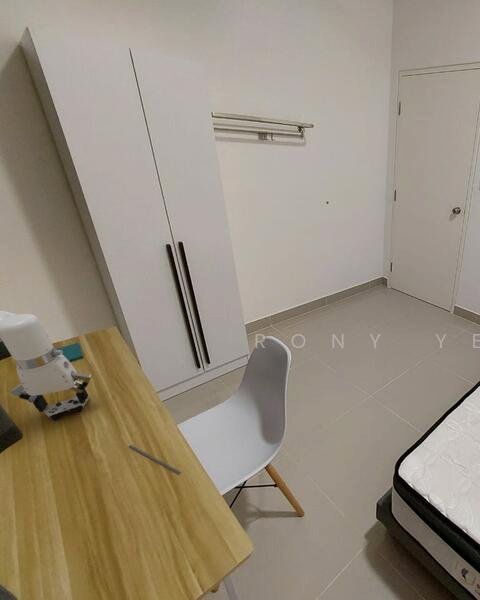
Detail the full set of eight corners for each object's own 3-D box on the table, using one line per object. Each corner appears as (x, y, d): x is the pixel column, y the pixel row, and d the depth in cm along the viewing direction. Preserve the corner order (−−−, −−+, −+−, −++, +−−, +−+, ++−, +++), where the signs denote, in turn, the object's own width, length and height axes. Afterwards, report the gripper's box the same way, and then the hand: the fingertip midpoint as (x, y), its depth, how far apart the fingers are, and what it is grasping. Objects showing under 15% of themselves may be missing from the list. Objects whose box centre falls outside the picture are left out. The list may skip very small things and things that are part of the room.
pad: (40, 371, 111) (39, 369, 110) (38, 356, 117) (37, 354, 117) (83, 357, 118) (82, 355, 118) (79, 344, 125) (78, 342, 124)
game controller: (89, 393, 102) (83, 391, 97) (94, 409, 101) (88, 408, 97) (46, 407, 97) (38, 406, 92) (50, 425, 96) (43, 424, 91)
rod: (179, 475, 82) (178, 473, 82) (129, 448, 88) (128, 446, 88) (181, 473, 83) (181, 471, 82) (131, 446, 88) (131, 444, 88)
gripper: (83, 343, 94) (105, 388, 102) (0, 356, 88) (31, 403, 96) (73, 358, 88) (97, 405, 96) (-17, 373, 82) (18, 422, 90)
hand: (64, 404), depth 96 cm, fingers closed on game controller, 8 cm apart
